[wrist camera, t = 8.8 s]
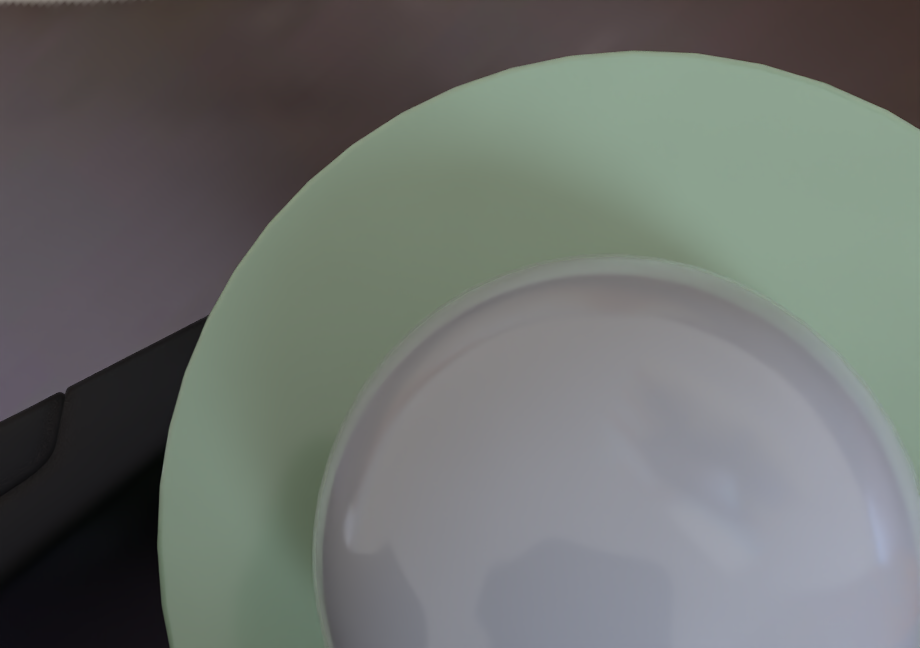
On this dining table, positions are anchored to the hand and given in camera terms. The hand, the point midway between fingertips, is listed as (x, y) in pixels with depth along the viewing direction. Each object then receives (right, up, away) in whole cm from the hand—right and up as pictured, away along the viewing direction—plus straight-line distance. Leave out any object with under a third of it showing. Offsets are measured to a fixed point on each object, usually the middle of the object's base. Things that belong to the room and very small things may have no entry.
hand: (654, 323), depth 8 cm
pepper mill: (+1, -2, +6) cm, 7 cm away
